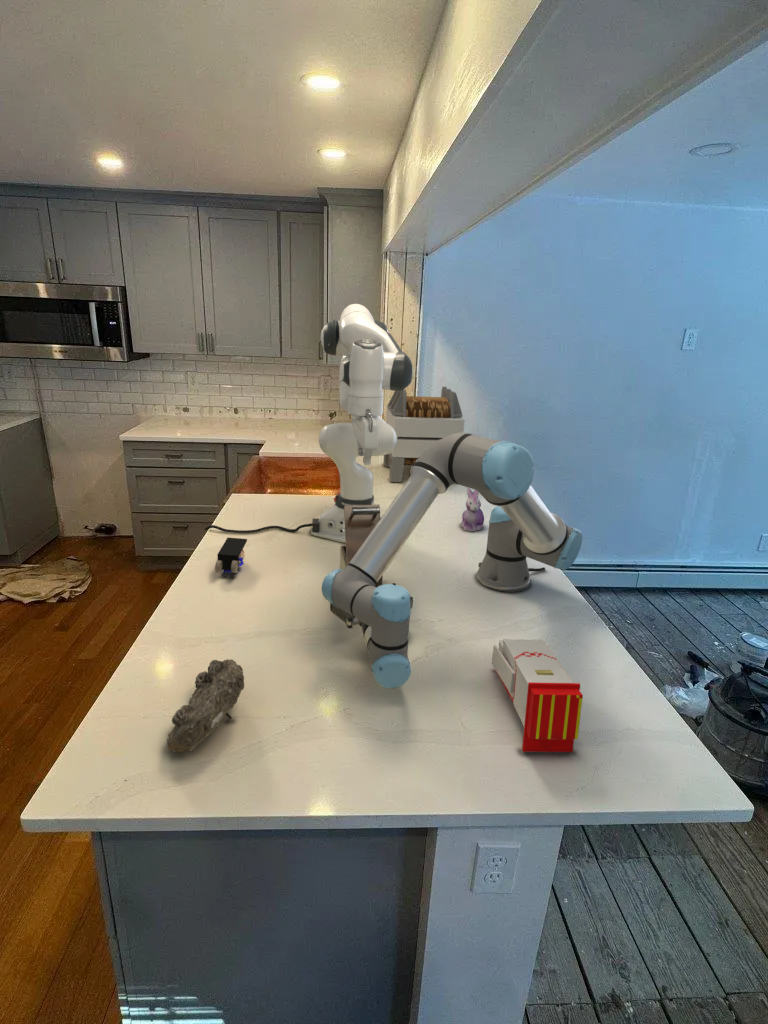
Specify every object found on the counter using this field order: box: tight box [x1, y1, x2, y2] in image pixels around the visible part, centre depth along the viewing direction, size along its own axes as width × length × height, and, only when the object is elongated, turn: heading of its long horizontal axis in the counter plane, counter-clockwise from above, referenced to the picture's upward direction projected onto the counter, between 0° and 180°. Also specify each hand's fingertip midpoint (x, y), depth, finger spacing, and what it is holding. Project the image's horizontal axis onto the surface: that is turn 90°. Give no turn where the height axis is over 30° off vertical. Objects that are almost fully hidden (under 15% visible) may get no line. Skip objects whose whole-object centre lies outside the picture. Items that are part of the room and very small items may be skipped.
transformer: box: [383, 386, 465, 483], centre depth 268 cm, size 34×33×41 cm
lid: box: [344, 504, 381, 565], centre depth 149 cm, size 17×10×9 cm
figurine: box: [461, 487, 485, 532], centre depth 206 cm, size 9×10×15 cm
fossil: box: [166, 658, 245, 754], centre depth 106 cm, size 22×10×15 cm
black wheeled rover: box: [214, 537, 248, 578], centre depth 166 cm, size 7×8×15 cm
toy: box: [491, 638, 584, 753], centre depth 114 cm, size 12×13×30 cm
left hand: (364, 459), depth 149 cm, fingers open, 8 cm apart
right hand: (367, 588), depth 145 cm, fingers open, 13 cm apart
